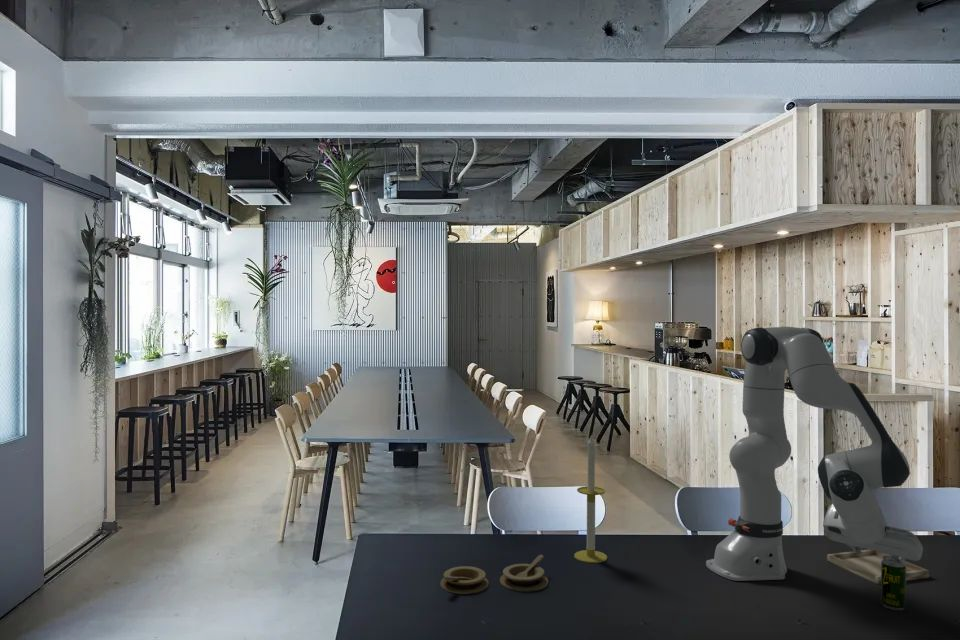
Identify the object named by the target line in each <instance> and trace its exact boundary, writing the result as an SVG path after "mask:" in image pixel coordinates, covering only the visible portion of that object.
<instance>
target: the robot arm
mask: <svg viewBox="0 0 960 640" xmlns="http://www.w3.org/2000/svg"><path fill="white" fill-rule="evenodd" d="M740 351H741V354H742V357H743V359H744V360H745V361H746V363H745V368H744V372H743V385H742V387H743V388H742V414H743V415H744V418H745V420H746V424H747V428H748V435H747V436H746V437H742V438H740V439H739V440H738V441H737V442H736V443H735V444H733V446H732V447H731V449H730V450H729V454H728V455H729V462H730V464H731V466H732V468H733V469H734V470H735V472H736V473H735V474H736V477H737V481H738V486H739V499H740V501H739V504H740V505H739V506H740V507H739V508H740V509H739V511H740V512H739V513H740V515H739V516H738V518H737V520H736V519H734V518H731V517H729V518H728V520H727V524H728V525H729V526H731V527H733V528H734V530H733V531H732V532H730V534H728V535H727V536H726V537H725V538H724V539H722V540H721V541H720V542H719V543H718V544H717V545H716V547H715V550H714V558H711V559H706V561H705V565H706V567H707V568H708V569H709V570H710V571H711V572H713V573H715V574H717V575H718V576H720V577H722V578H725V579H727V580H731V581H734V582H735V581H737V582H741V581H748V582H749V581H769V580H770V581H773V580H777V581H779V580H785V579H786V575H787V573H788V569H787V566H786V562H785V557H784V556H785V555H784V552H783V551H784V550H783V542H782V541H783V539H782V536H783V534H784V525H783V524H784V523H783V521H782V493H781V491H780V490H779V488H778V484H777V480H776V475H775V473H776V472H775V471H776V469H778V468H781V467H782V466H783V465H784V464H785V463H786V462H787V461H788V460H789V458H790V457H791V454H792V446H791V443H790V440H789V439H788V435H787V428H786V424H785V423H786V422H785V410H784V409H785V408H784V407H785V382H786V381H785V379H786V378H785V374H786V373H787V376H788V378H789V379H788V380H789V381H790V384H791V387H792V389H793V391H794V394H795V396H796V397H797V398H798V400H800V401H801V402H803V403H804V404H807V405H808V406H811V407H814V408H819V409H825V410H826V409H827V410H828V409H829V410H837V411H838V410H839V411H844V412H848V413H850V414H853V415H854V416H855V417H856V418H857V419H858V421H859V422H860V424H861V426H862V428H863V429H864V431H865V432H866V434H867V436H868V437H869V439H870V441H871V442H872V443H871V444H870V445H867V446H864V447H859V448H853V449H850V450H842V451H837V452H834V453H829V454H826V455H824V456H823V457H822V459H821V460H820V462H819V464H818V466H817V474H818V479H819V483H820V485H821V487H822V489H823V491H824V493H825V495H826V497H827V498H828V499H829V500H830V501H831V502H832V503H831V504H830V505H829V506H828V509H827V510H826V513H825V514H824V520H823V523H822V526H823V530H824V531H823V532H824V535H825V536H826V537H827V538H828V539H829V540H831V541H833V542H837V543H842V544H845V545H847V546H848V547H850V548H851V549H852V551H854V552H858V553H861V550H863V549H864V550H873V551H877V552H881V553H885V554H889V555H892V556H894V557H896V558H895V560H896V562H898V563H902V564H904V562H905V561H906V560H910V561H914V562H918V561H920V560H921V558H922V555H923V551H924V547H923V545H922V543H921V541H920V540H919V539H918V536H917V535H916V534H914V532H911V531H910V530H907V529H903V528H899V527H895V526H890V525H888V523H887V520H886V518H885V516H884V513H883V511H882V509H881V507H880V506H879V503H878V499H877V498H876V495H875V493H874V491H873V490H875V489H881V488H887V489H888V488H895V487H901V486H902V485H904V483H905V482H906V481H907V479H908V478H909V476H910V475H911V472H910V465H909V461H908V459H907V457H906V455H905V454H904V453H903V451H902V450H901V449H900V448H899V446H898V445H897V444H896V443H895V442H894V441H893V439H892V438H891V436H890V434H889V433H888V431H887V429H886V427H885V426H884V424H883V423H882V421H881V419H880V418H879V416H878V414H877V413H876V412H875V410H874V407H873V406H872V405H871V403H870V402H869V401H868V399H867V398H866V395H864V393H863V391H861V389H860V387H858V386H857V384H856V383H853V382H848V381H846V380H844V378H842V377H841V376H840V375H839V373H838V371H837V368H836V366H835V365H834V361H833V359H832V357H831V355H830V353H829V351H828V349H827V348H826V346H825V342H824V339H823V337H822V334H820V332H818V331H817V330H815V329H812V328H808V327H794V326H774V327H772V326H771V327H761V326H760V327H754V328H751V329H748V330H746V331H745V333H744V334H743V336H742V338H741V341H740ZM786 371H787V372H786Z"/></svg>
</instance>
